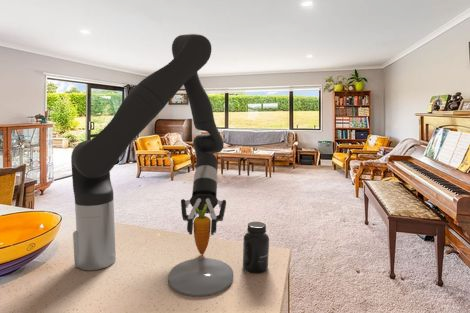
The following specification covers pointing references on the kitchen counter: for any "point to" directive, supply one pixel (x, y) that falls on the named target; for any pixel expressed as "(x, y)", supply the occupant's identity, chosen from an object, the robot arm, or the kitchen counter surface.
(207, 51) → the robot arm
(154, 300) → the kitchen counter surface
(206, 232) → the carrot
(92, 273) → the kitchen counter surface
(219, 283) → the slate plate
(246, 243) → the supplement bottle
